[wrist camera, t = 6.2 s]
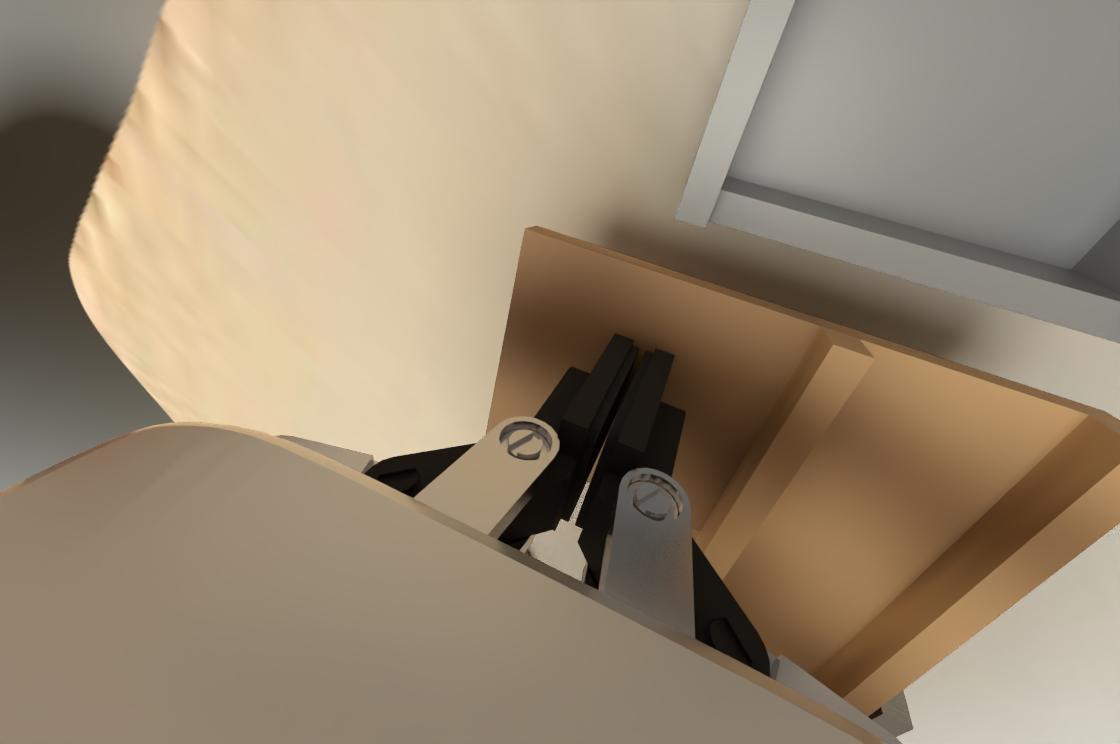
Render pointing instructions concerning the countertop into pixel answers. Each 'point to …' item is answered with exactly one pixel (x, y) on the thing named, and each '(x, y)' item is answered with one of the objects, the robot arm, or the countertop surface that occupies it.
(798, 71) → the tray
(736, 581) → the seesaw
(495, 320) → the countertop surface
